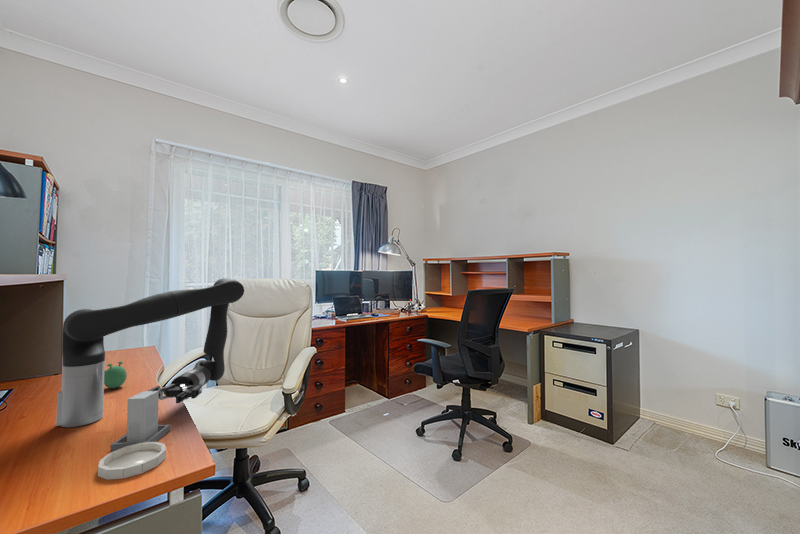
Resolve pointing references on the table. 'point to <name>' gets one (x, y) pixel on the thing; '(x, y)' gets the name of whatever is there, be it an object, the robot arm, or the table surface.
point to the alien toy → (114, 376)
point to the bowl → (131, 460)
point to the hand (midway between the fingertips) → (161, 400)
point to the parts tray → (123, 441)
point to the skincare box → (142, 416)
